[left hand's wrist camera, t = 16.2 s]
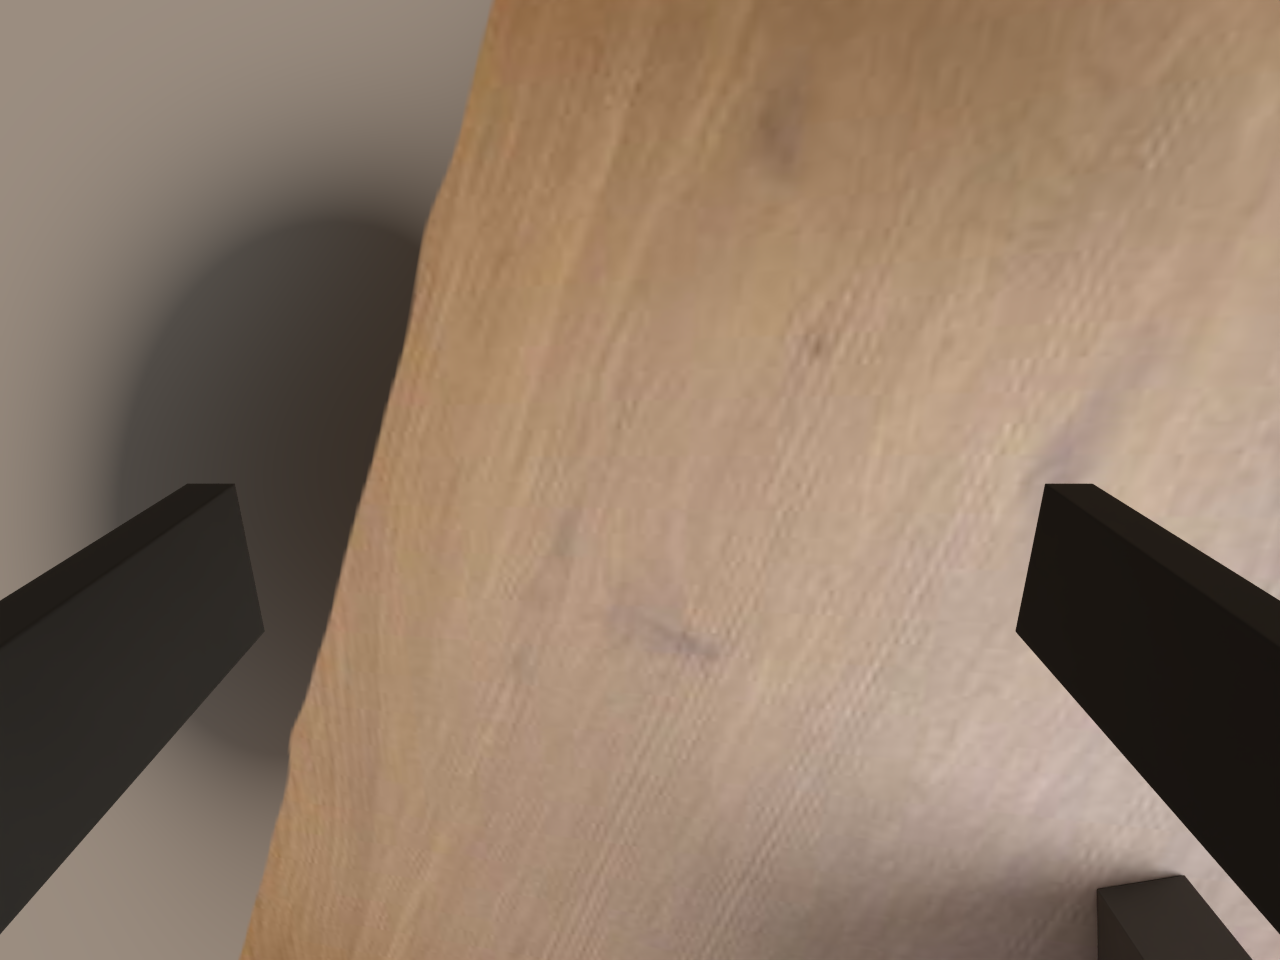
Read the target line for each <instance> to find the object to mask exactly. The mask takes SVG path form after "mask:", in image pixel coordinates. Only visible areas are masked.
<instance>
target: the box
mask: <svg viewBox="0 0 1280 960" xmlns="http://www.w3.org/2000/svg"><path fill="white" fill-rule="evenodd" d="M1097 902H1098V960H1252V959H1251V957H1250V956H1249V955H1248V954H1247V952H1246V951H1245V950H1244V949H1243V947H1242V946H1241V945H1240V944H1239V942H1238V941H1237V940H1236V939H1235V937H1234V936H1233V935H1232V934H1231V933H1230V931H1229V930H1228V929H1227V928H1226V926H1225V925H1224V924H1223V923H1222V921H1221V920H1220V919H1219V918H1218V916H1217V915H1216V914H1215V913H1214V911H1213V910H1212V909H1211V908H1210V906H1209V905H1208V904H1207V903H1206V902H1205V900H1204V899H1203V898H1202V897H1201V895H1200V894H1199V893H1198V892H1197V890H1196V889H1195V888H1194V887H1193V885H1192V884H1191V883H1190V882H1189V880H1188V879H1187V878H1186V877H1185V876H1184V875H1183V876H1177V877H1171V878H1165V879H1158V880H1152V881H1146V882H1140V883H1133V884H1127V885H1121V886H1115V887H1108V888H1102V889H1097Z"/></svg>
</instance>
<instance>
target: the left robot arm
mask: <svg viewBox="0 0 1280 960" xmlns="http://www.w3.org/2000/svg"><path fill="white" fill-rule="evenodd" d="M263 632H264V627H263V622H262V617H261V612H260V607H259V602H258V597H257V592H256V587H255V582H254V577H253V572H252V567H251V562H250V557H249V552H248V547H247V542H246V537H245V532H244V527H243V522H242V517H241V512H240V507H239V502H238V497H237V493H236V487H235V484H186V485H185V486H183V487H182V488H180V489H178V490H177V491H175V492H174V493H172V494H170V495H169V496H167V497H166V498H164V499H162V500H161V501H159V502H157V503H156V504H154V505H153V506H151V507H150V508H148V509H146V510H145V511H143V512H141V513H140V514H138V515H137V516H135V517H133V518H132V519H130V520H129V521H127V522H126V523H124V524H122V525H121V526H119V527H118V528H116V529H114V530H113V531H111V532H109V533H108V534H106V535H105V536H103V537H101V538H100V539H98V540H97V541H95V542H93V543H92V544H90V545H89V546H87V547H85V548H84V549H82V550H81V551H79V552H77V553H76V554H74V555H73V556H71V557H69V558H68V559H66V560H65V561H63V562H61V563H60V564H58V565H57V566H55V567H53V568H52V569H50V570H49V571H47V572H45V573H44V574H42V575H41V576H39V577H37V578H36V579H34V580H33V581H31V582H29V583H28V584H26V585H25V586H23V587H21V588H20V589H18V590H17V591H15V592H13V593H12V594H10V595H9V596H7V597H5V598H4V599H2V600H1V601H0V934H1V933H2V931H3V930H4V929H5V928H6V927H7V926H8V925H9V923H10V922H11V921H12V920H13V919H14V918H15V916H16V915H17V914H18V913H19V912H20V911H21V910H22V909H23V907H24V906H25V905H26V904H27V903H28V902H29V900H30V899H31V898H32V897H33V896H34V895H35V894H36V892H37V891H38V890H39V889H40V888H41V887H42V886H43V884H44V883H45V882H46V881H47V880H48V879H49V878H50V876H51V875H52V874H53V873H54V872H55V871H56V870H57V868H58V867H59V866H60V865H61V864H62V863H63V862H64V860H65V859H66V858H67V857H68V856H69V855H70V854H71V852H72V851H73V850H74V849H75V848H76V847H77V846H78V844H79V843H80V842H81V841H82V840H83V839H84V838H85V836H86V835H87V834H88V833H89V832H90V831H91V830H92V828H93V827H94V826H95V825H96V824H97V823H98V821H99V820H100V819H101V818H102V817H103V816H104V815H105V813H106V812H107V811H108V810H109V809H110V808H111V807H112V805H113V804H114V803H115V802H116V801H117V800H118V799H119V797H120V796H121V795H122V794H123V793H124V792H125V791H126V789H127V788H128V787H129V786H130V785H131V784H132V783H133V781H134V780H135V779H136V778H137V777H138V776H139V774H140V773H141V772H142V771H143V770H144V769H145V768H146V766H147V765H148V764H149V763H150V762H151V761H152V760H153V758H154V757H155V756H156V755H157V754H158V753H159V752H160V750H161V749H162V748H163V747H164V746H165V745H166V744H167V742H168V741H169V740H170V739H171V738H172V737H173V736H174V734H175V733H176V732H177V731H178V730H179V729H180V728H181V726H182V725H183V724H184V723H185V722H186V721H187V719H188V718H189V717H190V716H191V715H192V714H193V713H194V712H195V710H196V709H197V708H198V707H199V706H200V705H201V703H202V702H203V701H204V700H205V699H206V698H207V697H208V695H209V694H210V693H211V692H212V691H213V690H214V689H215V687H216V686H217V685H218V684H219V683H220V682H221V681H222V679H223V678H224V677H225V676H226V675H227V674H228V673H229V671H230V670H231V669H232V668H233V667H234V666H235V665H236V663H237V662H238V661H239V660H240V659H241V658H242V656H243V655H244V654H245V653H246V652H247V651H248V650H249V649H250V647H251V646H252V645H253V644H254V643H255V642H256V641H257V639H258V638H259V637H260V636H261V635H262V634H263ZM1016 632H1017V634H1018V635H1019V636H1020V637H1021V638H1022V639H1023V641H1024V642H1025V643H1026V644H1027V645H1028V646H1029V647H1030V649H1031V650H1032V651H1033V652H1034V653H1035V654H1036V655H1037V657H1038V658H1039V659H1040V660H1041V661H1042V662H1043V663H1044V665H1045V666H1046V667H1047V668H1048V669H1049V670H1050V671H1051V673H1052V674H1053V675H1054V676H1055V677H1056V678H1057V679H1058V681H1059V682H1060V683H1061V684H1062V685H1063V686H1064V687H1065V689H1066V690H1067V691H1068V692H1069V693H1070V694H1071V695H1072V697H1073V698H1074V699H1075V700H1076V701H1077V702H1078V704H1079V705H1080V706H1081V707H1082V708H1083V709H1084V710H1085V712H1086V713H1087V714H1088V715H1089V716H1090V717H1091V718H1092V720H1093V721H1094V722H1095V723H1096V724H1097V725H1098V726H1099V728H1100V729H1101V730H1102V731H1103V732H1104V733H1105V734H1106V736H1107V737H1108V738H1109V739H1110V740H1111V741H1112V742H1113V744H1114V745H1115V746H1116V747H1117V748H1118V749H1119V750H1120V752H1121V753H1122V754H1123V755H1124V756H1125V757H1126V758H1127V760H1128V761H1129V762H1130V763H1131V764H1132V765H1133V767H1134V768H1135V769H1136V770H1137V771H1138V772H1139V773H1140V775H1141V776H1142V777H1143V778H1144V779H1145V780H1146V781H1147V783H1148V784H1149V785H1150V786H1151V787H1152V788H1153V789H1154V791H1155V792H1156V793H1157V794H1158V795H1159V796H1160V797H1161V799H1162V800H1163V801H1164V802H1165V803H1166V804H1167V805H1168V807H1169V808H1170V809H1171V810H1172V811H1173V812H1174V813H1175V815H1176V816H1177V817H1178V818H1179V819H1180V820H1181V821H1182V823H1183V824H1184V825H1185V826H1186V827H1187V828H1188V830H1189V831H1190V832H1191V833H1192V834H1193V835H1194V836H1195V838H1196V839H1197V840H1198V841H1199V842H1200V843H1201V844H1202V846H1203V847H1204V848H1205V849H1206V850H1207V851H1208V852H1209V854H1210V855H1211V856H1212V857H1213V858H1214V859H1215V860H1216V862H1217V863H1218V864H1219V865H1220V866H1221V867H1222V868H1223V870H1224V871H1225V872H1226V873H1227V874H1228V875H1229V876H1230V878H1231V879H1232V880H1233V881H1234V882H1235V883H1236V884H1237V886H1238V887H1239V888H1240V889H1241V890H1242V891H1243V893H1244V894H1245V895H1246V896H1247V897H1248V898H1249V899H1250V901H1251V902H1252V903H1253V904H1254V905H1255V906H1256V907H1257V909H1258V910H1259V911H1260V912H1261V913H1262V914H1263V915H1264V917H1265V918H1266V919H1267V920H1268V921H1269V922H1270V923H1271V925H1272V926H1273V927H1274V928H1275V929H1276V930H1277V931H1278V933H1279V934H1280V601H1279V600H1278V599H1276V598H1275V597H1273V596H1271V595H1270V594H1268V593H1267V592H1265V591H1263V590H1262V589H1260V588H1259V587H1257V586H1255V585H1254V584H1252V583H1251V582H1249V581H1247V580H1246V579H1244V578H1243V577H1241V576H1239V575H1238V574H1236V573H1235V572H1233V571H1231V570H1230V569H1228V568H1227V567H1225V566H1223V565H1222V564H1220V563H1219V562H1217V561H1215V560H1214V559H1212V558H1211V557H1209V556H1207V555H1206V554H1204V553H1203V552H1201V551H1199V550H1198V549H1196V548H1195V547H1193V546H1191V545H1190V544H1188V543H1187V542H1185V541H1183V540H1182V539H1180V538H1179V537H1177V536H1175V535H1174V534H1172V533H1171V532H1169V531H1167V530H1166V529H1164V528H1163V527H1161V526H1159V525H1158V524H1156V523H1155V522H1153V521H1151V520H1150V519H1148V518H1147V517H1145V516H1143V515H1142V514H1140V513H1139V512H1137V511H1135V510H1134V509H1132V508H1131V507H1129V506H1127V505H1126V504H1124V503H1123V502H1121V501H1119V500H1118V499H1116V498H1114V497H1113V496H1111V495H1110V494H1108V493H1106V492H1105V491H1103V490H1102V489H1100V488H1098V487H1097V486H1095V485H1094V484H1045V487H1044V492H1043V497H1042V502H1041V507H1040V512H1039V517H1038V522H1037V527H1036V532H1035V537H1034V542H1033V547H1032V552H1031V557H1030V562H1029V567H1028V572H1027V577H1026V582H1025V587H1024V592H1023V597H1022V602H1021V607H1020V612H1019V617H1018V622H1017V627H1016Z"/></svg>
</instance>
